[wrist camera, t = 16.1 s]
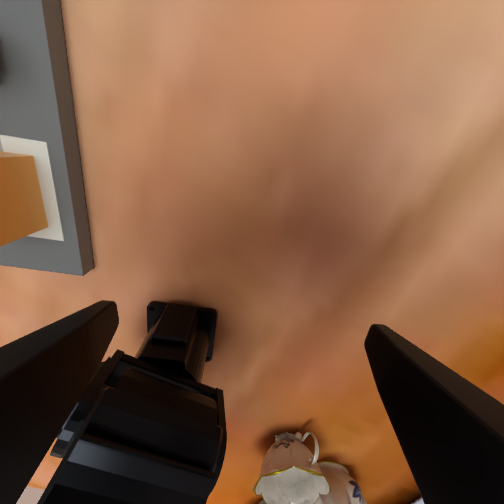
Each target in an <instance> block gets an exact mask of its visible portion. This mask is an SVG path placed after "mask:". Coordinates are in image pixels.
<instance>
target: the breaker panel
mask: <svg viewBox="0 0 504 504" xmlns="http://www.w3.org/2000/svg"><path fill="white" fill-rule="evenodd" d="M0 151H3V152H10V153H17V154H24V155H30V156H33V157H34V162H35V166H36V171H37V176H38V180H39V185H40V190H41V194H42V199H43V204H44V208H45V213H46V218H47V222H48V227H47V228H45V229H42V230H40V231H37V232H35V233H33V234H30V235H28V236H25V237H23V238H20V239H18V240H15V241H13V242H10V243H8V244H6V245H3V246H1V247H0V265H4V266H11V267H19V268H27V269H34V270H42V271H50V272H57V273H65V274H73V275H80V276H84V275H85V274H86V273H88V272H89V271H90V270H91V269H93V268H94V262H93V255H92V247H91V239H90V231H89V223H88V216H87V208H86V200H85V192H84V185H83V177H82V169H81V161H80V153H79V146H78V138H77V130H76V122H75V115H74V107H73V99H72V91H71V84H70V76H69V68H68V60H67V52H66V45H65V37H64V29H63V21H62V14H61V6H60V0H0Z"/></svg>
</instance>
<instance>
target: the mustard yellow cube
mask: <svg viewBox="0 0 504 504" xmlns="http://www.w3.org/2000/svg"><path fill="white" fill-rule="evenodd" d="M47 227H48V222H47V218H46V213H45V208H44V204H43V199H42V194H41V190H40V185H39V180H38V176H37V171H36V166H35V162H34V157H33V156H30V155H24V154H17V153H10V152H3V151H0V247H1V246H3V245H6V244H8V243H10V242H13V241H15V240H18V239H20V238H23V237H25V236H28V235H30V234H33V233H35V232H37V231H40V230H42V229H45V228H47Z"/></svg>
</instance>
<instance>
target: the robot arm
mask: <svg viewBox="0 0 504 504" xmlns="http://www.w3.org/2000/svg"><path fill="white" fill-rule="evenodd" d="M152 307H154V308H152ZM210 314H213V315H210ZM216 321H217V311H216V310H214V309H208V308H200V307H192V306H184V305H176V304H168V303H160V302H150V303H149V305H148V306H147V328H148V334H147V336H146V338H145V340H144V342H143V344H142V345H141V347H140V349H139V351H138V353H137V354H136V356H135V357H132V356H130V355H127V354H124V352H123V351H121V350H118V349H117V351H116V352H115V353H114V355H113V356H112V358H111V357H109V358H108V359H107V360H106V361H104V362H101V361H102V359H103V357H104V355H105V353H106V351H107V348H108V346H109V344H110V342H111V340H112V338H113V336H114V334H115V332H116V330H117V327H118V324H119V317H118V311H117V305H116V303H115V302H114V301H106V300H102V301H99V302H97V303H95V304H93V305H91V306H89V307H86V308H84V309H82V310H80V311H78V312H76V313H73V314H71V315H69V316H67V317H65V318H63V319H60V320H58V321H56V322H54V323H52V324H50V325H47V326H45V327H43V328H41V329H39V330H37V331H34V332H32V333H30V334H28V335H26V336H24V337H22V338H19V339H17V340H15V341H13V342H11V343H9V344H6V345H4V346H2V347H0V504H16V502H17V501H18V499H19V498H20V496H21V494H22V492H23V491H24V489H25V488H26V486H27V484H28V483H29V481H30V479H31V478H32V476H33V475H34V473H35V471H36V470H37V468H38V466H39V465H40V463H41V461H42V460H43V458H44V456H45V455H46V453H47V452H48V450H49V448H50V447H51V445H52V443H53V442H54V440H55V438H58V439H57V441H56V443H55V445H54V447H53V449H52V451H51V453H50V455H51V456H55V457H58V458H63V459H62V461H61V463H60V465H59V466H58V468H57V470H56V472H55V473H54V475H53V477H52V479H51V480H50V482H49V484H48V486H47V487H46V489H45V491H44V493H43V495H42V496H41V498H40V500H39V501H38V503H37V504H206V501H207V498H208V496H209V494H210V493H211V492H212V490H213V488H214V487H215V485H216V482H217V480H218V477H219V475H220V472H221V468H222V465H223V461H224V456H225V451H226V442H227V432H226V421H225V409H224V397H223V390H221V389H218V388H216V389H215V388H212V387H210V386H207V385H204V384H202V383H201V378H202V374H203V369H204V364H205V361H206V362H208V361H211V359H212V354H213V346H214V338H215V329H216ZM364 346H365V350H366V353H367V357H368V360H369V363H370V367H371V370H372V373H373V377H374V380H375V383H376V386H377V389H378V392H379V394H380V397H381V399H382V402H383V404H384V407H385V409H386V412H387V414H388V416H389V419H390V421H391V424H392V426H393V428H394V431H395V433H396V436H397V438H398V441H399V443H400V445H401V448H402V450H403V453H404V455H405V458H406V460H407V462H408V465H409V467H410V470H411V472H412V474H413V477H414V479H415V482H416V484H417V487H418V489H419V491H420V494H421V496H422V499H423V501H424V504H504V405H503V404H502V403H500V402H499V401H498V400H496V399H495V398H493V397H492V396H490V395H489V394H487V393H486V392H484V391H483V390H481V389H480V388H478V387H477V386H475V385H474V384H472V383H471V382H469V381H468V380H466V379H465V378H463V377H462V376H460V375H459V374H457V373H456V372H454V371H453V370H451V369H450V368H448V367H447V366H445V365H444V364H442V363H441V362H439V361H438V360H436V359H435V358H433V357H432V356H430V355H429V354H427V353H426V352H424V351H423V350H421V349H420V348H418V347H417V346H415V345H414V344H412V343H411V342H409V341H408V340H406V339H405V338H403V337H402V336H400V335H399V334H397V333H396V332H394V331H393V330H391V329H390V328H389V327H387V326H385V325H381V324H373V325H371V327H370V329H369V331H368V334H367V336H366V339H365V343H364ZM206 356H208V357H206Z"/></svg>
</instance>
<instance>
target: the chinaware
mask: <svg viewBox="0 0 504 504" xmlns="http://www.w3.org/2000/svg"><path fill="white" fill-rule="evenodd" d="M309 434H311V435H312V437H313V439H314V447H315V448H314V455H313V454H312V452H311V451H310V450H309V449H308V448H307V447H306V446H305V445H304V444H303V443H301V442H303V441H304V440H305V439H306V437H307V436H308V435H309ZM274 436H275V437H276V439H275V443H274V444H273V445H272V446H271V447H270V448H269V449H268V451H267V452H266V454H265V456H264V459H263V462H262V467H261V473H260V477H259V479H258V480H257V482H256V483H255V484H254V486H253V491H254V493H255V494H256V495H261V496H262V498H263V499H264V500H262V501H261V502H260V503H259V504H366V500H365V498H364V496H363V494H362V493H361V489H360V487H359V485H358V483H357V482H356V481H355V480H354V479H353V478H352V477H351V476H349V471H348V469H347V468H346V467H345V466H343V465H341V464H339V463H336V462H331V461H317V459H318V455H319V445H318V441H317V438H316V436H315V434H314V433H313V432H310V431H307V432H306V433H305V434H304V436H303V438H302V434H301V433H300V432H297V433H296V434H295V435H294V434H291V433H288V431H287V432H286V433H283V434H280V435H277V436H276V435H274ZM301 438H302V439H301ZM297 440H298V441H297Z"/></svg>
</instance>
